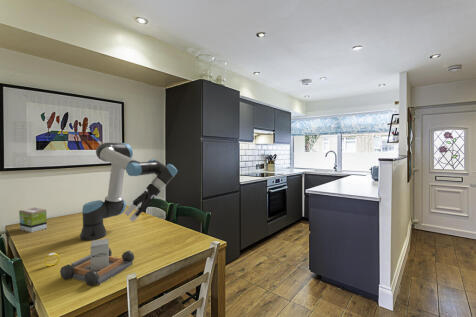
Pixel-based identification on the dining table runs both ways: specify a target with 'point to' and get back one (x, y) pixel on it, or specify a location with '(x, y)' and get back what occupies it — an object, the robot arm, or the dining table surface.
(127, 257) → the toy car chassis
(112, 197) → the robot arm
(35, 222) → the tea box
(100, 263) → the supplement box
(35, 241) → the dining table surface
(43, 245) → the dining table surface
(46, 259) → the watch
